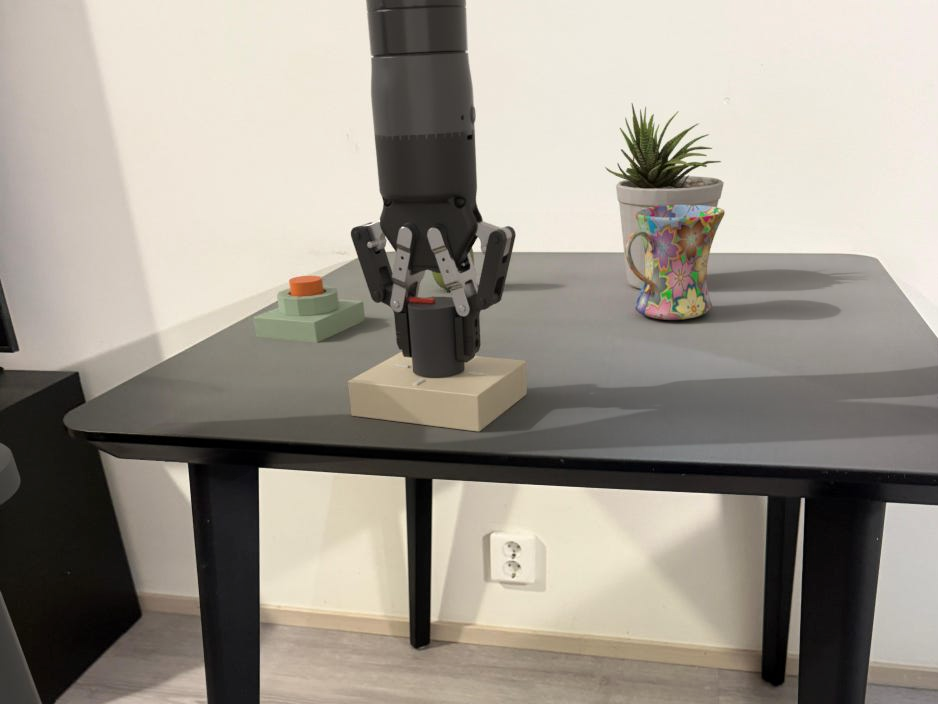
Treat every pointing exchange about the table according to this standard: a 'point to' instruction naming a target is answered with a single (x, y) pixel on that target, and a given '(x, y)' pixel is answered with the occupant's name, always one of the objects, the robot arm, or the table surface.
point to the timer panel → (439, 393)
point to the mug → (674, 259)
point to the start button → (306, 286)
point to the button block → (309, 316)
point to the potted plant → (658, 183)
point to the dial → (433, 337)
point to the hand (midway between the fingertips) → (439, 356)
